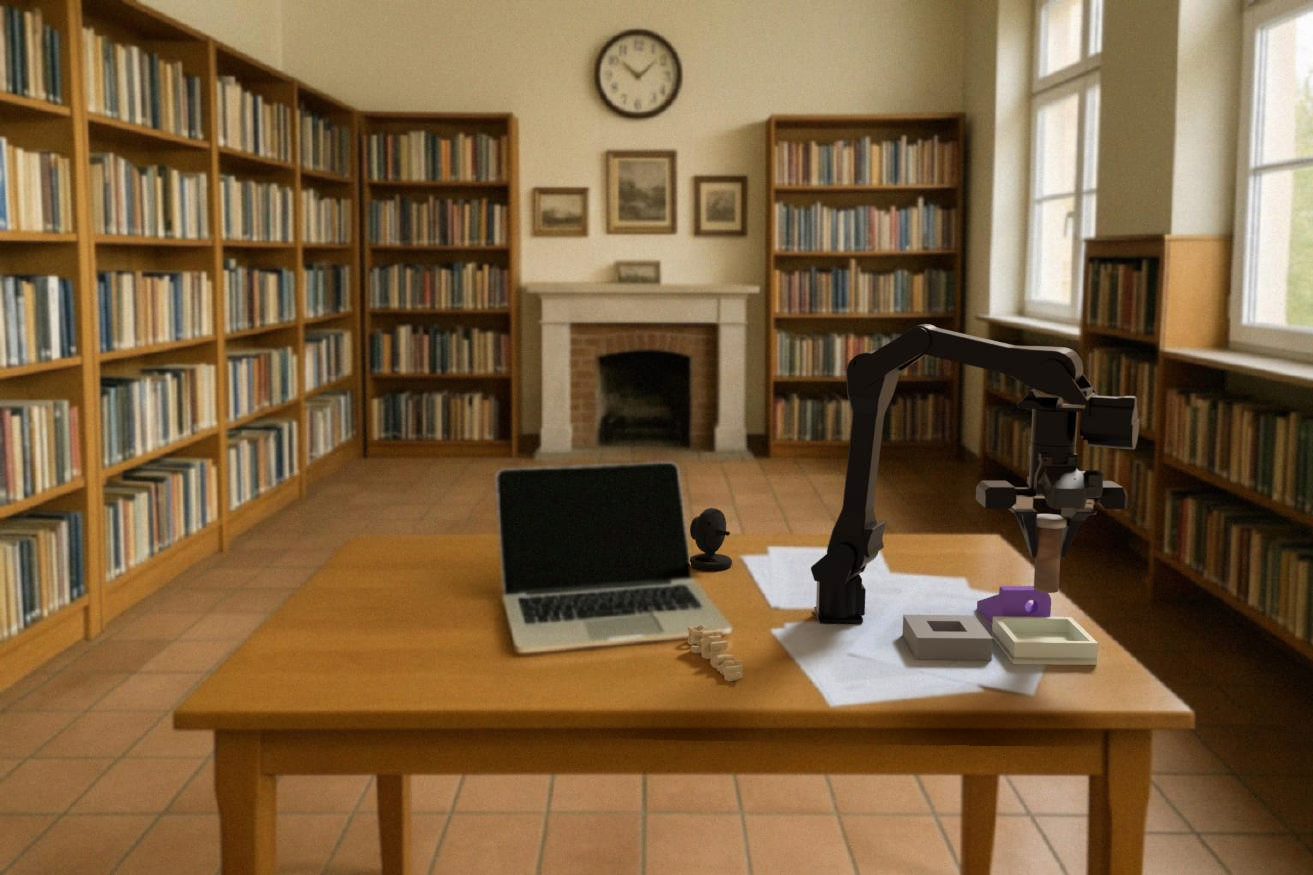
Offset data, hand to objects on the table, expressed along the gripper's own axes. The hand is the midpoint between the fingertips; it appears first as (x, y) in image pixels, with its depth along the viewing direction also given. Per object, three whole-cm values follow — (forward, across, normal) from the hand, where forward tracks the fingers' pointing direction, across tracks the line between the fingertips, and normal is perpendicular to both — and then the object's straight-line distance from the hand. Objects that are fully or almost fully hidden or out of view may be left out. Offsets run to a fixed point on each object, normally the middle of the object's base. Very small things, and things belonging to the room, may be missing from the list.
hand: (1047, 557), depth 165 cm
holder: (+13, -13, +1) cm, 18 cm away
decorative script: (+13, -45, -5) cm, 47 cm away
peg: (+4, 0, 0) cm, 5 cm away
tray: (+13, 0, 0) cm, 13 cm away
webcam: (+13, -44, +42) cm, 62 cm away
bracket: (+14, -1, +13) cm, 19 cm away
